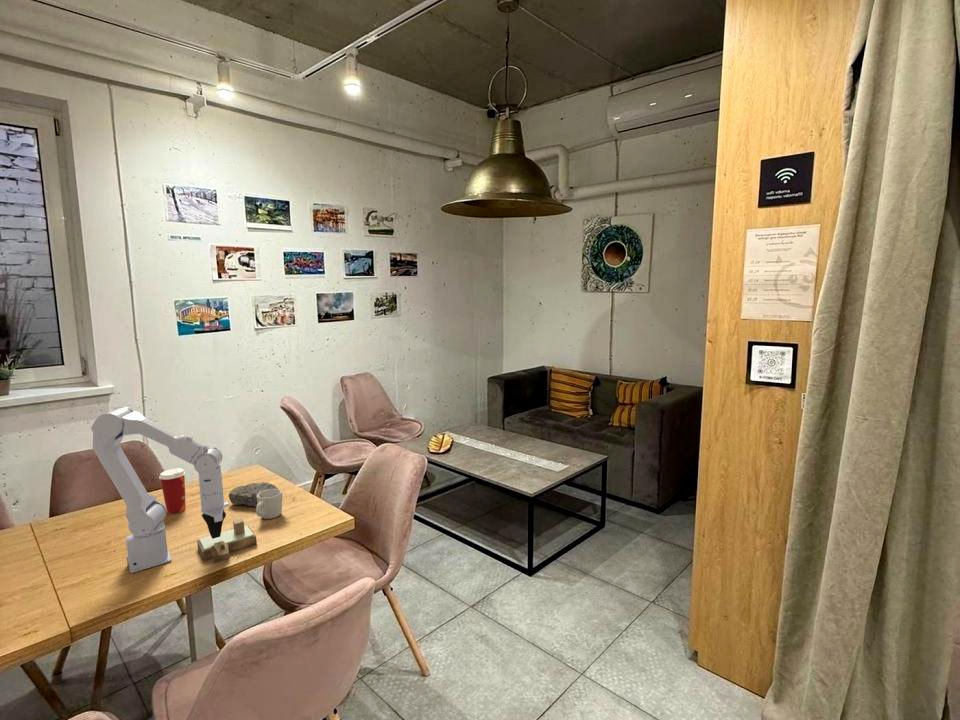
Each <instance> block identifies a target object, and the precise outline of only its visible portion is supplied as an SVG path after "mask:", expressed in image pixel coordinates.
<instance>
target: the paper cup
mask: <svg viewBox="0 0 960 720" xmlns="http://www.w3.org/2000/svg"><path fill="white" fill-rule="evenodd" d="M159 474H160V475H159V476H158V478H159V480H160V483H161V488H162V495H163V500H164V506H165V507H166V509H167V514H169V515H173V514H179V513H182V512H184V511H185V510H186V508H187V507H186V502H187V501H186V481H185V480H186V479H185V475H186V472H185V470H184V469H183V468H179V467H178V468H170V469H167V470H163V471H162V472H161V473H159Z"/></svg>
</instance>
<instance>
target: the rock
mask: <svg viewBox="0 0 960 720" xmlns="http://www.w3.org/2000/svg"><path fill="white" fill-rule="evenodd" d="M268 489H279V488H278V487H277V486H276V485H274V484H272V483H269V482H265V481H262V482H252V483H248V484H245V485H239V486H236V487H234V488H232V490H230V491H229V493H228V498H229V501H230V503H231V504H232V505H234V506H239V505H246V506H249V507H255V508H256V506H257V504H258V502H257V497H256V496H257V494H258V493H260V492H262V491H264V490H268Z"/></svg>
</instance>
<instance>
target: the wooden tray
mask: <svg viewBox="0 0 960 720" xmlns="http://www.w3.org/2000/svg"><path fill="white" fill-rule="evenodd" d="M247 526H248V527H249V529H250V530H251V532H252V533H253V534H254V536H252V537H249V538H246V539H242V540H239V541H236V542H232V543H229V544H227V543H225V544H226V546H227V547H228V551H229V553H226V554H223V555H220V556H219V555H218V553H217V551H216V549H215V548H214V546H213V547H211V549H209V550H206V551H204V549H203V547H202V545H201V543H200V541H199V539H197V540H196V543H197V549H198V551H199V554H200V556H201V559H202V560H203V561H209V560H212V562H213V564H214V563H218V562H221V561H224V560H227V559H230V558H231V557H230V553H235V552H237V551H240V550H241V551H242V550H244V549H247V548H250V547H253V546H256V545H257V535H256V534H255V533H254V531H253V530H252V529H251V527H250V526H249V525H247Z"/></svg>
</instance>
